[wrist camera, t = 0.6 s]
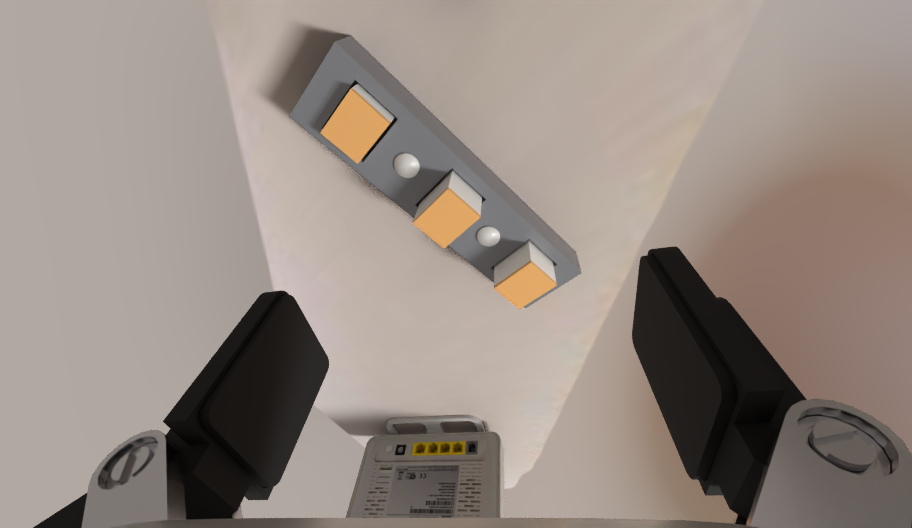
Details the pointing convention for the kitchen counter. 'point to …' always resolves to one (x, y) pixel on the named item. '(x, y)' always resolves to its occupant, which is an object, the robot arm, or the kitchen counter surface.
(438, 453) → the network device
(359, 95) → the on switch
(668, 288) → the robot arm
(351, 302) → the kitchen counter surface
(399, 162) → the power strip
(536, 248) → the switch
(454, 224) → the middle switch
